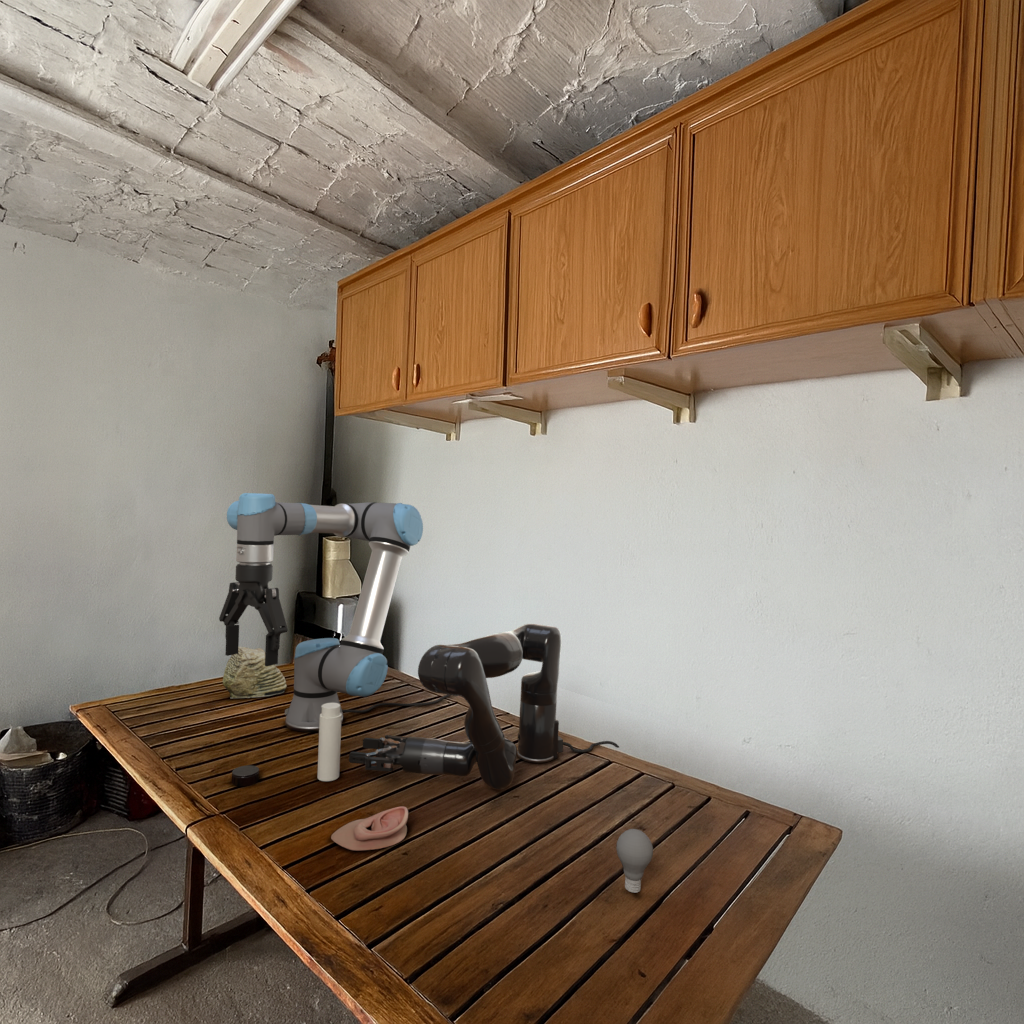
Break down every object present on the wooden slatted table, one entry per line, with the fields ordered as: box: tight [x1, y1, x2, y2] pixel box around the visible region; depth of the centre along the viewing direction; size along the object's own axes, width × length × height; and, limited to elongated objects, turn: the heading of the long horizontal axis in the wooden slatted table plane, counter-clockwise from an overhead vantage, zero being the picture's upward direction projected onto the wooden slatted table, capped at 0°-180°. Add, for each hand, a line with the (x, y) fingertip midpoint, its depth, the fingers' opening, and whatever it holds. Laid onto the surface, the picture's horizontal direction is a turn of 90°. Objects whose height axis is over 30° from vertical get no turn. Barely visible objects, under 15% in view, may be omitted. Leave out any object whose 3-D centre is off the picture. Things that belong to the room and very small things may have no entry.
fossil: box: [222, 646, 288, 699], centre depth 198 cm, size 9×18×15 cm, turn 132°
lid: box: [231, 764, 260, 787], centre depth 140 cm, size 6×6×2 cm
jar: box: [316, 703, 342, 782], centre depth 143 cm, size 5×5×16 cm
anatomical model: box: [330, 805, 409, 852], centre depth 119 cm, size 13×4×12 cm
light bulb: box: [615, 828, 654, 894], centre depth 106 cm, size 6×6×10 cm
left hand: (251, 659), depth 139 cm, fingers open, 13 cm apart
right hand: (356, 749), depth 143 cm, fingers open, 8 cm apart
